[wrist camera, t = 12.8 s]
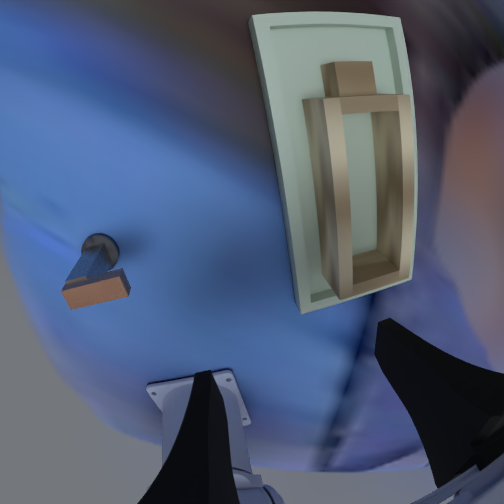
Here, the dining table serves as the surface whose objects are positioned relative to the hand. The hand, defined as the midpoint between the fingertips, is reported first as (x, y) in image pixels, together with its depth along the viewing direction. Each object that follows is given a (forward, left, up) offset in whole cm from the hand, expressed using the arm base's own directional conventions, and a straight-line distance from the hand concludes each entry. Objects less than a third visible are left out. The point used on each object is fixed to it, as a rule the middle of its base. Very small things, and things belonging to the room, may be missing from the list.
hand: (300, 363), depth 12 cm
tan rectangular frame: (+5, -7, -9) cm, 12 cm away
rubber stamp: (+3, +10, -10) cm, 14 cm away
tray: (+5, -7, -10) cm, 13 cm away
